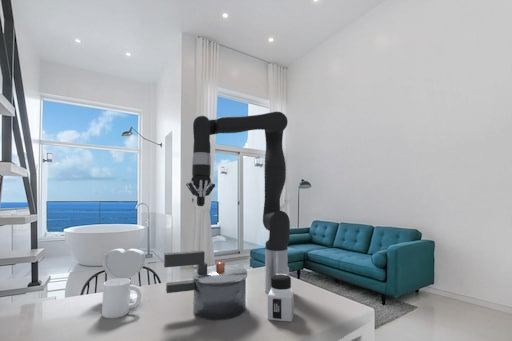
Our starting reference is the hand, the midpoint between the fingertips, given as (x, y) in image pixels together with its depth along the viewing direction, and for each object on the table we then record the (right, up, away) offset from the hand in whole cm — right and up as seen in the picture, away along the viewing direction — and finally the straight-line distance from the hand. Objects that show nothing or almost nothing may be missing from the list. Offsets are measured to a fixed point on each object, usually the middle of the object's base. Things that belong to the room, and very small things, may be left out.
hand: (200, 206), depth 117 cm
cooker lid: (+6, -22, -19) cm, 30 cm away
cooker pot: (+6, -33, -20) cm, 39 cm away
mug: (-22, -33, -22) cm, 46 cm away
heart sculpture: (-29, -35, -6) cm, 46 cm away
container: (+31, -33, -24) cm, 51 cm away
